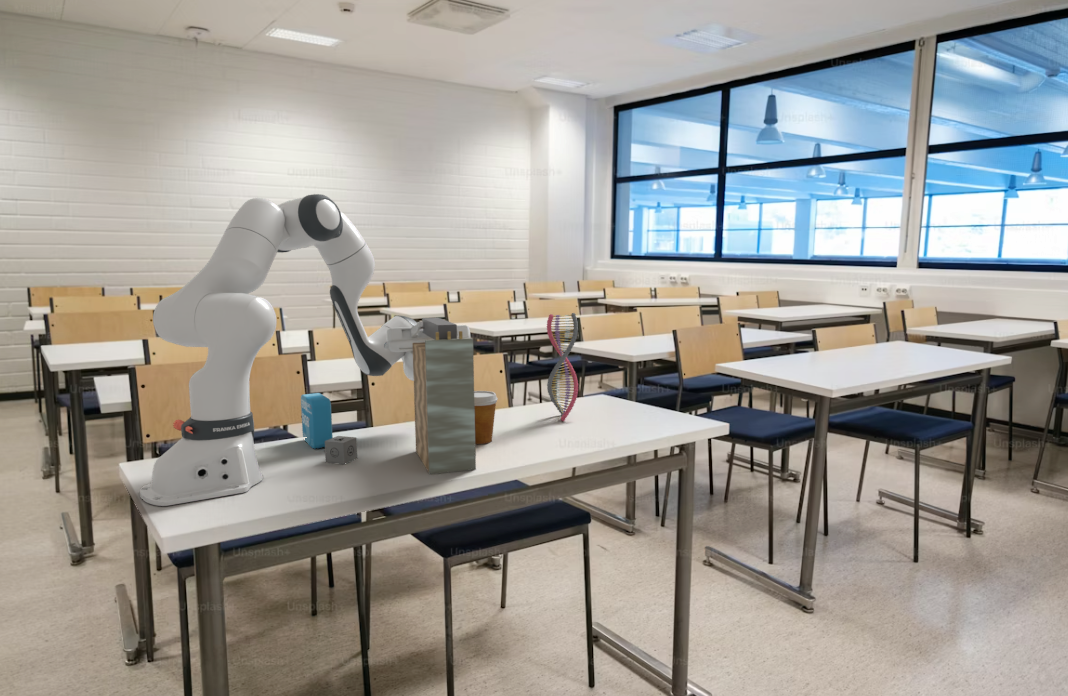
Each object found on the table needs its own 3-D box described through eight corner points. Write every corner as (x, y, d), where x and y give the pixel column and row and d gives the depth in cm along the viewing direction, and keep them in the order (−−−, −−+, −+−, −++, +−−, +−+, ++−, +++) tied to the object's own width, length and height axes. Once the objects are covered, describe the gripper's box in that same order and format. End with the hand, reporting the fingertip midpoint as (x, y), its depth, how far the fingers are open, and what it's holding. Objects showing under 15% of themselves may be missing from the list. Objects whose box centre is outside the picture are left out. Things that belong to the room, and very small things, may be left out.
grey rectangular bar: (422, 332, 166) (422, 318, 166) (439, 332, 168) (438, 317, 167) (438, 341, 147) (438, 325, 147) (456, 340, 149) (456, 324, 148)
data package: (302, 439, 178) (300, 393, 177) (320, 437, 180) (318, 391, 179) (314, 450, 168) (312, 401, 166) (333, 447, 170) (331, 399, 169)
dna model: (546, 421, 195) (546, 314, 192) (547, 414, 204) (546, 312, 200) (578, 421, 195) (578, 314, 191) (578, 414, 204) (577, 312, 200)
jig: (415, 451, 166) (411, 325, 162) (457, 447, 169) (454, 323, 165) (429, 474, 148) (425, 333, 144) (475, 469, 151) (472, 331, 147)
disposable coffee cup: (499, 436, 179) (499, 390, 178) (496, 446, 170) (495, 397, 169) (463, 436, 180) (461, 390, 178) (457, 446, 170) (456, 397, 169)
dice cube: (325, 462, 158) (324, 441, 157) (338, 456, 162) (338, 435, 162) (344, 464, 156) (343, 442, 155) (357, 458, 160) (356, 437, 160)
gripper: (382, 337, 174) (386, 313, 162) (462, 334, 180) (472, 310, 168) (384, 361, 172) (389, 338, 160) (465, 357, 178) (476, 334, 166)
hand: (432, 324), depth 164 cm, fingers closed on grey rectangular bar, 4 cm apart
